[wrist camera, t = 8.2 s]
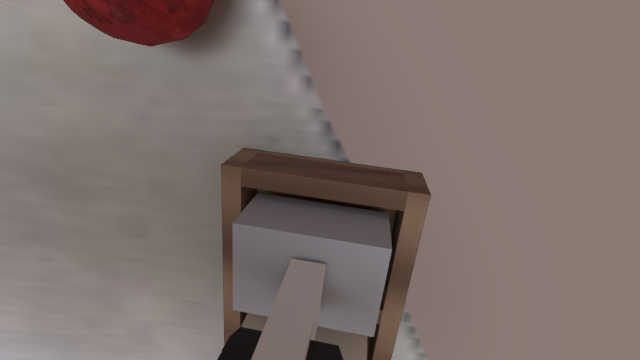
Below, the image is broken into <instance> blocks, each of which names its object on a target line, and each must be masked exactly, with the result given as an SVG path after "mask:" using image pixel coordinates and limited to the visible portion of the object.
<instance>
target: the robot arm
mask: <svg viewBox="0 0 640 360" xmlns="http://www.w3.org/2000/svg"><path fill="white" fill-rule="evenodd" d="M325 268H326V264H321V263H315V262H309V261H304V260H298V259H291V262H290V264H289V266H288V269H287V271H286V274H285V276H284V279H283V281H282V284H281V286H280V289H279V291H278V294H277V296H276V299H275V301H274V304H273V306H272V309H271V311H270V314H269V316H268V319H267V321H266V324H265V326H264V329H263V331H259V330H254V329H249V328H244V327H240V328H239V329H237V330H236V331H235V332H234V333H233V334H232V335H231V336H230V337H229V338H228V340H227V342H226V344H225V346H224V348H223V350H222V353H221V354H220V356H219V358H218V360H343V357H342V354H341V351H340V348H339V345H334V344H329V343H324V342H319V341H314V339H315V335H316V330H317V325H318V320H319V315H320V308H321V300H322V292H323V284H324V276H325Z"/></svg>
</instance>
